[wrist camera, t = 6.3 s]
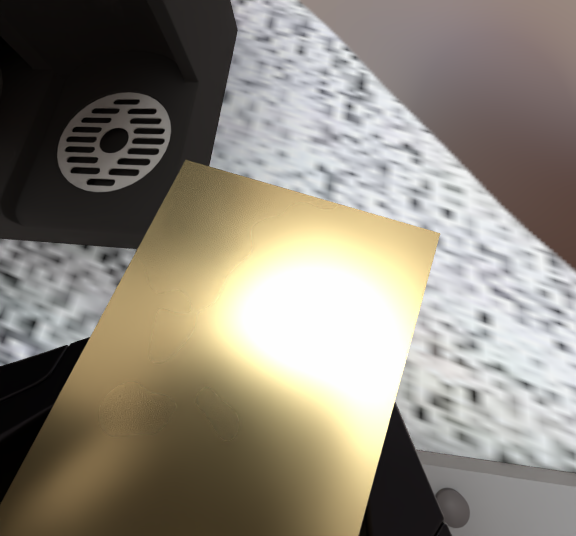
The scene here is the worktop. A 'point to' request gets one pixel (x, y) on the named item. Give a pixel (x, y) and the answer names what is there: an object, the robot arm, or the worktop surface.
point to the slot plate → (501, 497)
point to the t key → (232, 372)
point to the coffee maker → (104, 111)
